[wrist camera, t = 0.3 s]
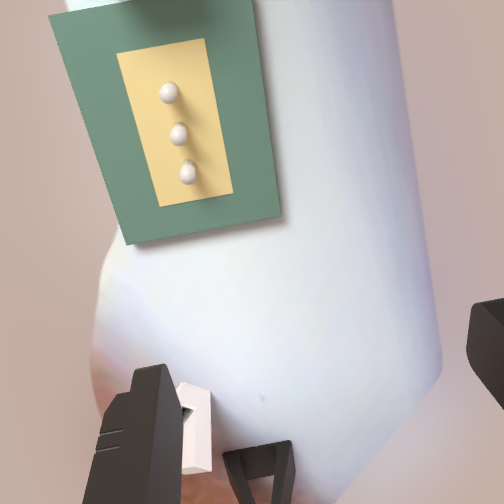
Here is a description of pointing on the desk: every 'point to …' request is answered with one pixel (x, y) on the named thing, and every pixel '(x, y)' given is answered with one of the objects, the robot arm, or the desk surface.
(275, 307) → the desk surface
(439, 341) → the desk surface
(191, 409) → the white wedge bracket
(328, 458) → the desk surface
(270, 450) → the phone stand
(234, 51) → the header board
